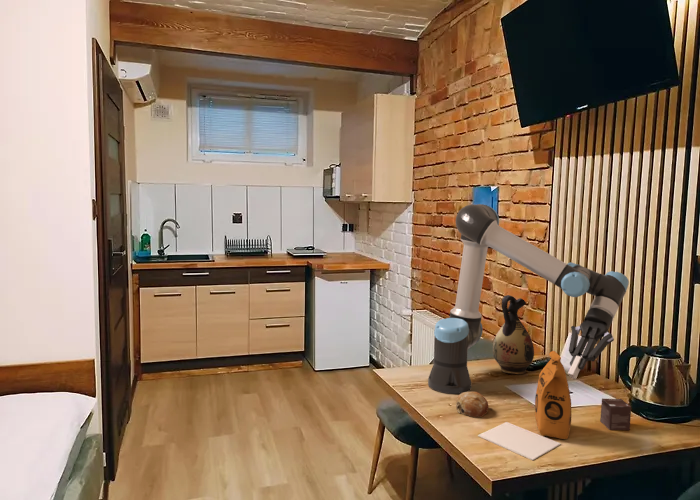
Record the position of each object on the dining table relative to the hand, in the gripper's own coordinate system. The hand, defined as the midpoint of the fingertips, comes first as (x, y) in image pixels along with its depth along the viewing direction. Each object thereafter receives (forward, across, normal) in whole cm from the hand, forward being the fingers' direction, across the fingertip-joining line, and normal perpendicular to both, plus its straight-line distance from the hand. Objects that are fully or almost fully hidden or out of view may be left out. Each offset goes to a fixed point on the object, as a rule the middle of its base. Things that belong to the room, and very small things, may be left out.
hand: (571, 376), depth 153 cm
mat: (+26, +3, +6) cm, 27 cm away
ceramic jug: (-8, +37, -28) cm, 47 cm away
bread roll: (+22, +23, +2) cm, 32 cm away
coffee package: (+17, 0, -3) cm, 17 cm away
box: (+5, -10, -16) cm, 19 cm away
